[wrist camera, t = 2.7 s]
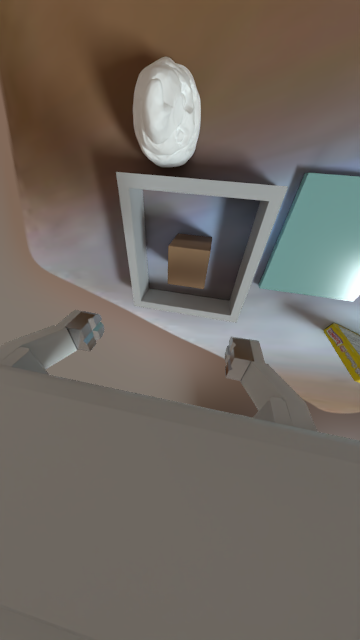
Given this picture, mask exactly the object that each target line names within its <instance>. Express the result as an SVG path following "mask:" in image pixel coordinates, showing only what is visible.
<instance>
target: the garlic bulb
mask: <svg viewBox="0 0 360 640" xmlns="http://www.w3.org/2000/svg"><path fill="white" fill-rule="evenodd" d="M200 120H201V105H200V97H199V94H198V91H197V88H196V85H195V81H194V79H193V76H192V74H191V72H190V71H189V70H188V69H187V68H186V67H185V66H183V65H181V64H177V63H175V62H174V61H173V60H172V59H171V58H169V57H162V58H160V59H158V60H157V61H155V62H153V63H152V64H150V65H148V66H147V67H145V68H144V69H143V70H142V71H141V72H140V74H139V76H138V79H137V83H136V86H135V91H134V100H133V123H134V130H135V134H136V137H137V140H138V142H139V145H140V147H141V150H142V152H143V153H144V155H146V156H147V158H148V159H149V160H151V161H152V162H153V163H155V164H156V165H158V166H160V167H178V166H181V165H184V164H185V163H186V162H187V161H188V160H189V159H190V158H191V157H192V155H193V153H194V151H195V148H196V143H197V140H198V136H199V131H200Z"/></svg>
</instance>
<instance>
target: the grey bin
mask: <svg viewBox="0 0 360 640" xmlns="http://www.w3.org/2000/svg"><path fill="white" fill-rule="evenodd" d="M116 176H117V183H118V190H119V198H120V205H121V212H122V219H123V227H124V234H125V241H126V248H127V256H128V263H129V270H130V277H131V284H132V292H133V299H134V306H137V307H143V308H150V309H156V310H162V311H168V312H174V313H180V314H186V315H192V316H198V317H204V318H210V319H216V320H223V321H229V322H235V323H236V322H237V320H238V317H239V314H240V312H241V309H242V307H243V304H244V301H245V299H246V296H247V293H248V291H249V288H250V286H251V283H252V280H253V278H254V275H255V272H256V270H257V267H258V265H259V262H260V259H261V257H262V254H263V251H264V249H265V246H266V244H267V241H268V238H269V236H270V233H271V230H272V228H273V225H274V223H275V220H276V217H277V215H278V212H279V209H280V207H281V204H282V201H283V199H284V196H285V194H286V191H287V188H288V187H286V186H275V185H263V184H251V183H240V182H228V181H216V180H205V179H193V178H181V177H170V176H158V175H146V174H135V173H123V172H116ZM143 189H145V190H155V191H166V192H177V193H187V194H198V195H208V196H219V197H229V198H240V199H251V200H260V203H259V207H258V210H257V213H256V216H255V220H254V223H253V226H252V229H251V233H250V236H249V239H248V242H247V245H246V249H245V252H244V255H243V258H242V262H241V265H240V268H239V271H238V275H237V278H236V281H235V284H234V288H233V291H232V294H231V297H230V300H229V301H228V300H221V299H215V298H208V297H201V296H195V295H188V294H182V293H175V292H169V291H162V290H156V289H149V280H148V264H147V249H146V233H145V217H144V201H143Z"/></svg>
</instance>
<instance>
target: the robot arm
mask: <svg viewBox="0 0 360 640" xmlns="http://www.w3.org/2000/svg"><path fill="white" fill-rule="evenodd" d="M100 321H101V316H100V315H99V314H95V313H90V312H85V311H79V310H74V311H73V312H71V313H70V314H69V315H68V316H67V317H65V318H64V319H63V320H62V321H61V322H60V323H58V324H57V325H56V326H50V327H48V328H45V329H42V330H39V331H37V332H34V333H31V334H28V335H25V336H23V337H20V338H18V339H14V340H12V341H9V342H6V343H4V344H3V345H2V346H0V640H360V441H359V440H354V439H350V438H345V437H340V436H335V435H330V434H326V433H321V432H317V429H316V427H315V424H314V422H313V420H312V417H311V414H310V412H309V410H308V407H307V405H306V402H305V401H304V400H303V399H302V398H301V397H300V396H299V395H298V394H297V393H296V392H295V391H294V390H293V389H292V388H291V387H290V386H289V385H288V384H287V383H286V382H285V381H284V380H283V379H282V378H281V377H280V376H279V375H278V374H277V373H276V372H275V371H274V370H273V369H272V368H271V367H270V366H269V365H268V364H265V361H264V358H263V354H262V350H261V347H260V343H259V341H257V340H250V339H249V340H248V339H243V338H237V337H231V338H230V340H229V346H227V348H226V352H225V362H226V364H227V365H226V367H225V374H226V378H229V379H234V380H238V381H241V383H242V385H243V386H244V388H245V390H246V391H247V393H248V394H249V396H250V398H251V399H252V401H253V402H254V404H255V406H256V407H257V409H258V410H259V412H258V413H257V414H256V415H255V416H254V417H253V418H250V417H245V416H241V415H236V414H232V413H227V412H222V411H218V410H213V409H208V408H203V407H199V406H194V405H189V404H184V403H180V402H175V401H170V400H166V399H161V398H156V397H151V396H147V395H142V394H137V393H133V392H128V391H123V390H119V389H114V388H109V387H104V386H99V385H94V384H90V383H85V382H80V381H76V380H71V379H67V378H62V377H57V376H53V375H49V374H48V372H47V371H46V370H45V369H47V368H49V367H50V366H52V365H54V364H55V363H57V362H58V361H60V360H62V359H63V358H65V357H67V356H68V355H70V354H72V353H73V352H75V351H77V350H84V351H91V350H92V348H93V347H94V346H95V345H96V340H98V339H100V338H101V337H102V335H103V333H104V325H103V324H102V323H101V322H100Z"/></svg>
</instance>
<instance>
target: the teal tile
mask: <svg viewBox="0 0 360 640" xmlns="http://www.w3.org/2000/svg"><path fill="white" fill-rule="evenodd" d="M259 288H262V289H269V290H276V291H283V292H290V293H297V294H304V295H311V296H318V297H325V298H332V299H339V300H346V301H354V300H355V299H356V298H357V297H358V296H359V295H360V177H358V176H345V175H332V174H319V173H305V174H304V177H303V179H302V182H301V184H300V186H299V189H298V191H297V194H296V196H295V198H294V201H293V203H292V206H291V208H290V211H289V213H288V215H287V218H286V220H285V223H284V225H283V227H282V230H281V232H280V235H279V237H278V239H277V242H276V244H275V247H274V249H273V251H272V254H271V256H270V259H269V261H268V264H267V266H266V268H265V271H264V273H263V276H262V278H261V280H260V283H259Z"/></svg>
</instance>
